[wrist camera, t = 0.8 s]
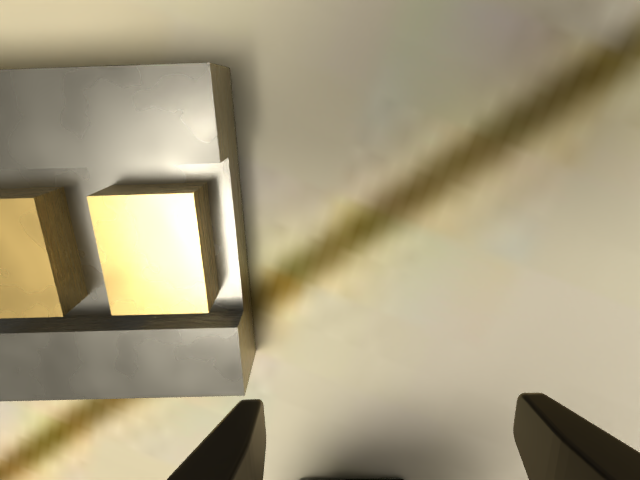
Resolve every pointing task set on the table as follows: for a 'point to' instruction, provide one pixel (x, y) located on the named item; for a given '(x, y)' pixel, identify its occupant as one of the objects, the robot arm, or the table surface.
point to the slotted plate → (80, 181)
